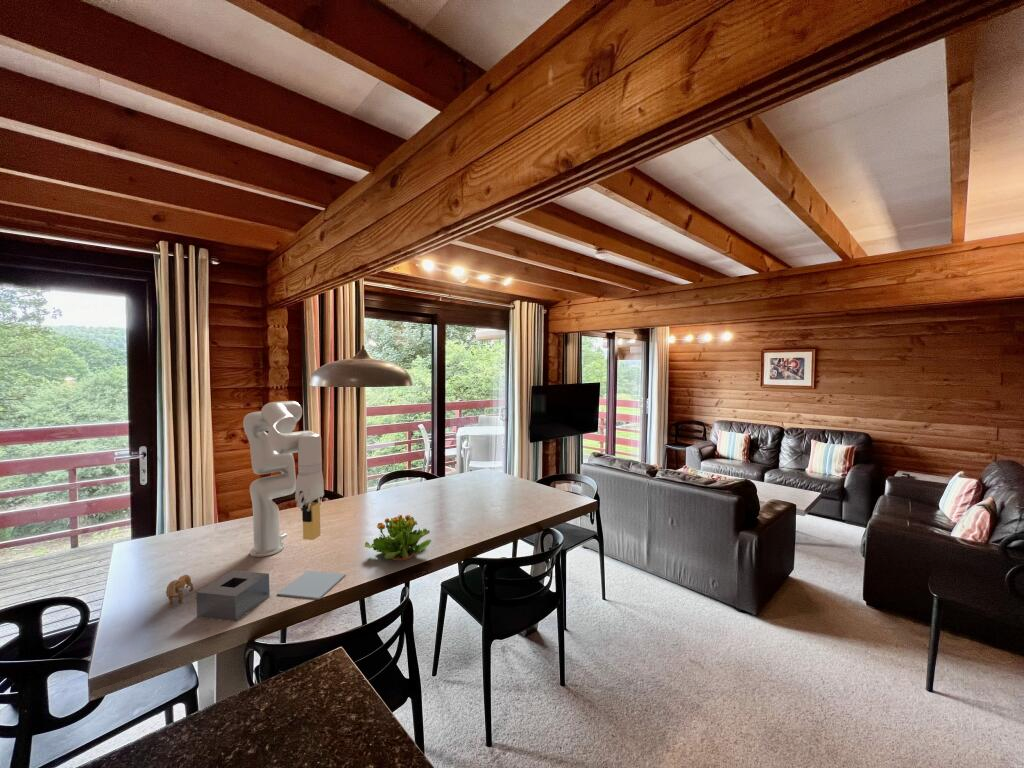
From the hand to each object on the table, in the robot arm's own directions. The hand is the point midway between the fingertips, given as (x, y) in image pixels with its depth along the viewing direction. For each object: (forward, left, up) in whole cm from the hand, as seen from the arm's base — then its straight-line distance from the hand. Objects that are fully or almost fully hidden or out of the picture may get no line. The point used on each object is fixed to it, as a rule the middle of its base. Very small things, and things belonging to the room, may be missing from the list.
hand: (311, 518), depth 147 cm
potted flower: (-27, +23, -25) cm, 43 cm away
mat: (0, 0, -24) cm, 24 cm away
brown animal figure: (+15, -38, -25) cm, 48 cm away
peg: (0, 0, -7) cm, 7 cm away
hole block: (+16, -17, -24) cm, 34 cm away
